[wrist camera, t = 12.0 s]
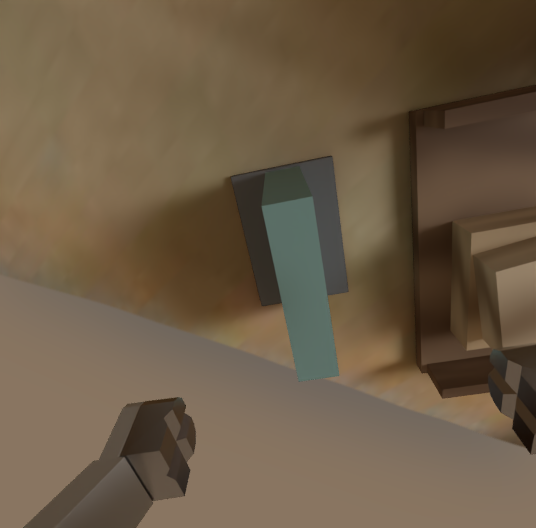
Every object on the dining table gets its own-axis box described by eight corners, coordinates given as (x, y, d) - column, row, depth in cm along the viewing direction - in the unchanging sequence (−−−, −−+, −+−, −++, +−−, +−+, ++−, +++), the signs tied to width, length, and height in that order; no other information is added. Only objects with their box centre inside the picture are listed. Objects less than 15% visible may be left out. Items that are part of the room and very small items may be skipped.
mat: (231, 175, 21) (230, 177, 20) (331, 155, 20) (332, 156, 20) (262, 303, 24) (261, 306, 24) (347, 289, 24) (348, 291, 23)
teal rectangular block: (265, 172, 20) (261, 206, 13) (299, 165, 20) (312, 196, 13) (291, 303, 24) (298, 381, 17) (320, 298, 24) (339, 376, 17)
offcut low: (452, 221, 21) (471, 233, 19) (540, 205, 20) (570, 215, 18) (450, 330, 24) (466, 350, 22) (526, 318, 23) (549, 338, 21)
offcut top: (472, 254, 19) (495, 272, 17) (549, 232, 19) (582, 247, 17) (482, 338, 22) (504, 362, 20) (551, 321, 21) (580, 344, 19)
